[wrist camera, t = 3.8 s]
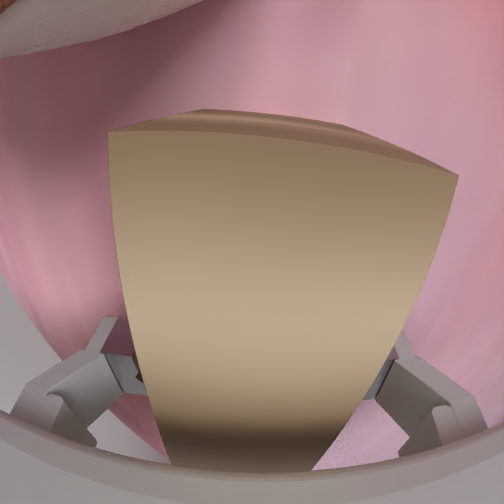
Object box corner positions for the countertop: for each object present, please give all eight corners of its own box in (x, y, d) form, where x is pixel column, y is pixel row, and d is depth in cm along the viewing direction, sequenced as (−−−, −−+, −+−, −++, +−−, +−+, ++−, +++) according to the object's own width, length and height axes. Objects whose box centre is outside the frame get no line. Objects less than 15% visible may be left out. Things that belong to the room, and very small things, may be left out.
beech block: (282, 387, 14) (286, 498, 9) (201, 380, 14) (183, 490, 9) (340, 124, 8) (458, 175, 3) (205, 108, 8) (107, 132, 3)
